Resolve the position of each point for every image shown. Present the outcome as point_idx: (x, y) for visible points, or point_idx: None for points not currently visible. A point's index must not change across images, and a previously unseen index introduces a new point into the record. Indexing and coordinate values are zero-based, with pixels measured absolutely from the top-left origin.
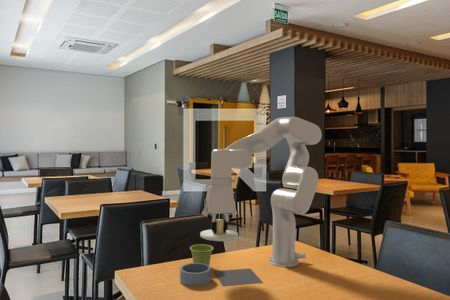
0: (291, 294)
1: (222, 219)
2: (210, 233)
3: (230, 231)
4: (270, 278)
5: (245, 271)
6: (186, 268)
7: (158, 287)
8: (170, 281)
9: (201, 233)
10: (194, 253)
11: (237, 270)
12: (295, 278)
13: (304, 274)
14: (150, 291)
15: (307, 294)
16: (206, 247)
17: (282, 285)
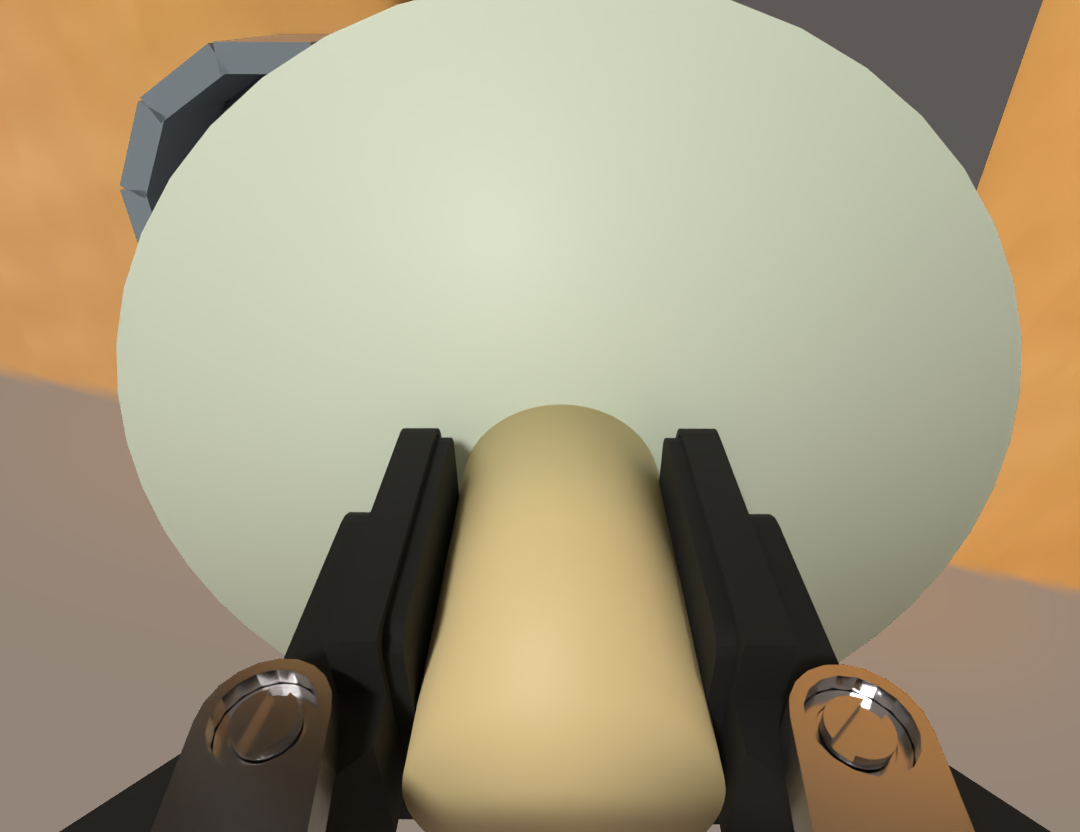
0: (965, 555)
1: (699, 755)
2: (361, 466)
3: (919, 339)
4: (1055, 278)
5: (928, 69)
6: (205, 99)
7: (39, 251)
8: (107, 134)
9: (154, 442)
10: None
11: (858, 8)
12: None
13: None
14: (2, 313)
15: (1060, 575)
16: None
17: (1028, 430)
